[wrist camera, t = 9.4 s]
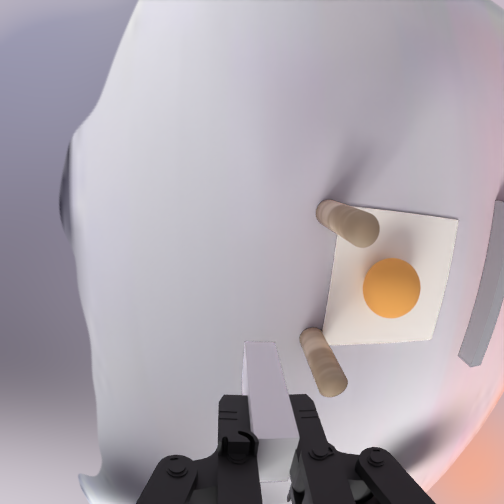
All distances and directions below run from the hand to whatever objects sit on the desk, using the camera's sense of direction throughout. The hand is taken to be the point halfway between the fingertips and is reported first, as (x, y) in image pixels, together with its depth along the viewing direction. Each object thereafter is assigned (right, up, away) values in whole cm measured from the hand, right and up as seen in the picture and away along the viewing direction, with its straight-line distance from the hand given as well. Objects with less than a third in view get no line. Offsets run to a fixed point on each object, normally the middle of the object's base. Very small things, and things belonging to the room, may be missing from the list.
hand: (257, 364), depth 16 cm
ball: (+12, +2, +12) cm, 17 cm away
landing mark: (+14, +3, +15) cm, 20 cm away
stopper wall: (+28, +2, +16) cm, 32 cm away
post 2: (+6, +9, +12) cm, 17 cm away
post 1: (+6, -3, +15) cm, 17 cm away
